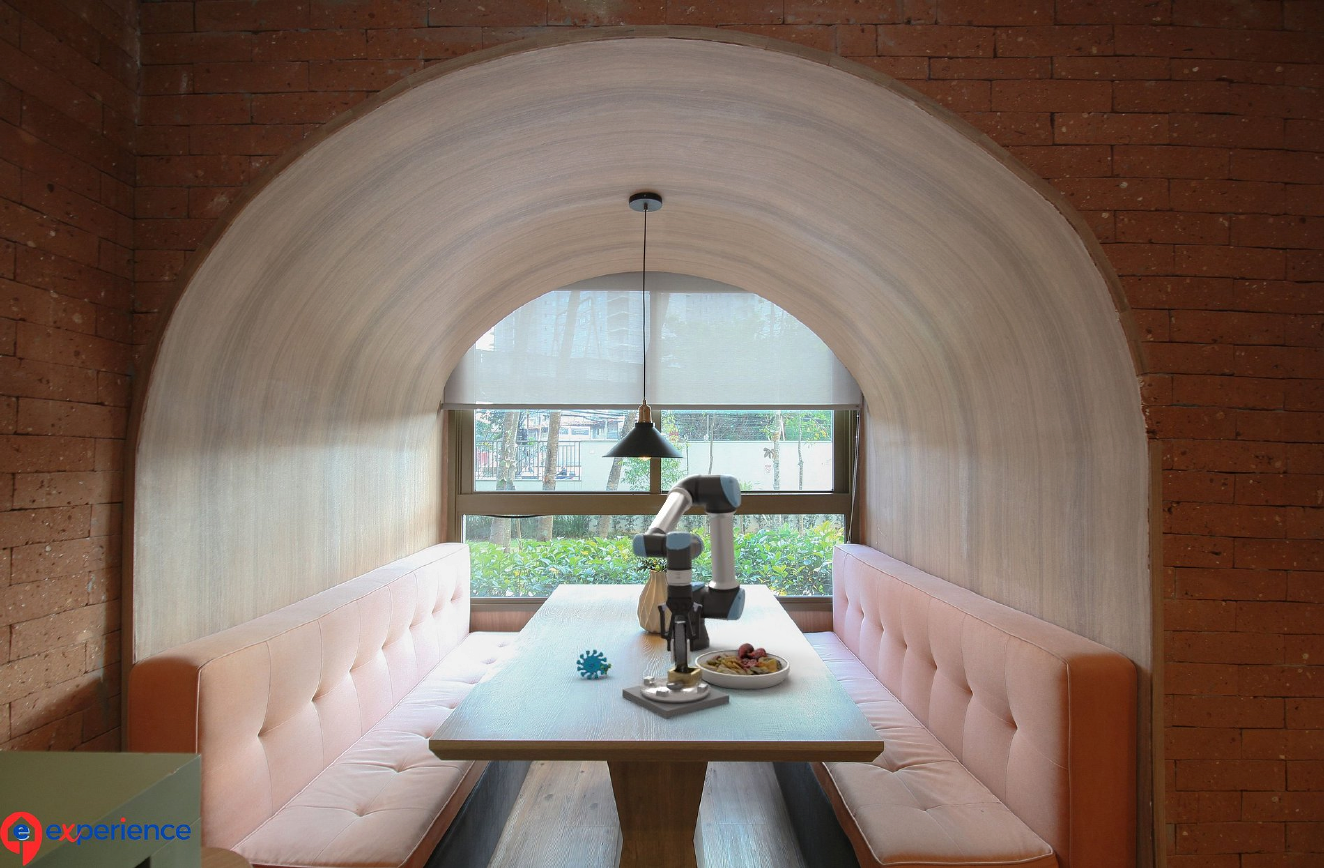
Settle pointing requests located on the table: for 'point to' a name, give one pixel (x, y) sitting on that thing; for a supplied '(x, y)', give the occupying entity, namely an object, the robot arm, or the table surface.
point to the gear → (593, 664)
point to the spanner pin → (680, 646)
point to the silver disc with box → (676, 687)
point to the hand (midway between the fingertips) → (680, 662)
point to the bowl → (743, 668)
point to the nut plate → (675, 708)
